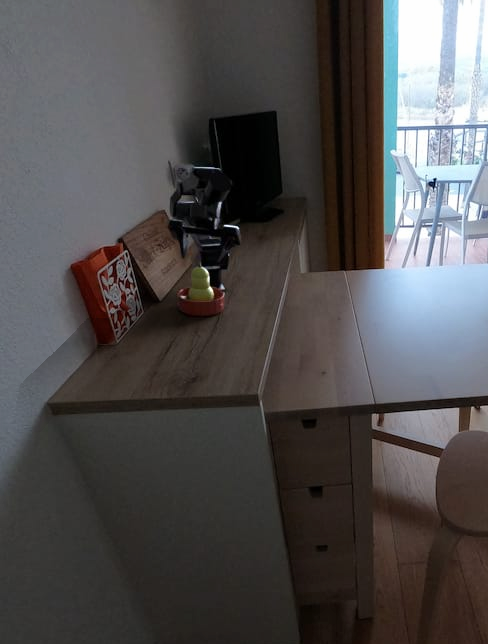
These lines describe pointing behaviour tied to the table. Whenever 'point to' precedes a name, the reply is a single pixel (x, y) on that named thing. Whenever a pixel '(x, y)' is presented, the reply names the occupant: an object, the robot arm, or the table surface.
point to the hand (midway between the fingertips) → (200, 260)
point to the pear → (200, 285)
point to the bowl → (201, 303)
